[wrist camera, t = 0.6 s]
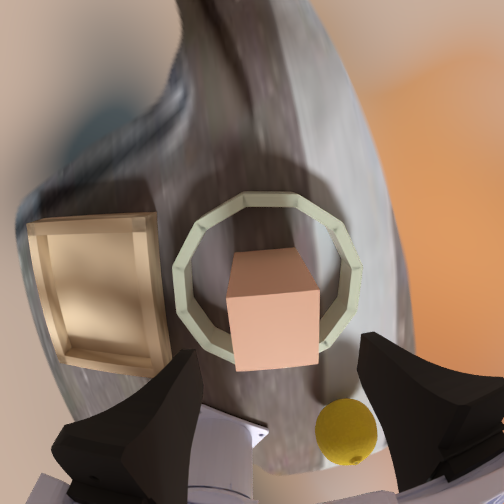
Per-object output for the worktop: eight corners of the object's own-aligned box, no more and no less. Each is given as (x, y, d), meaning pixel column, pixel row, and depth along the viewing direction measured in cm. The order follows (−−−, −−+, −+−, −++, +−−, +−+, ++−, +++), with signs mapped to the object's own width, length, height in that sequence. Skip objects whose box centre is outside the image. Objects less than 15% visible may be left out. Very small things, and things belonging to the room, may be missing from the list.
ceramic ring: (291, 370, 24) (294, 389, 22) (156, 305, 22) (146, 319, 20) (379, 248, 21) (393, 257, 19) (234, 157, 20) (232, 155, 17)
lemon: (358, 374, 24) (386, 434, 17) (365, 408, 26) (389, 464, 18) (302, 394, 25) (316, 460, 17) (316, 426, 26) (329, 485, 19)
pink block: (297, 302, 22) (318, 363, 15) (240, 307, 22) (236, 371, 15) (295, 247, 21) (319, 289, 14) (234, 252, 21) (226, 297, 14)
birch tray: (173, 361, 24) (166, 379, 21) (71, 349, 24) (59, 362, 21) (156, 211, 20) (145, 216, 18) (44, 218, 20) (26, 223, 18)
